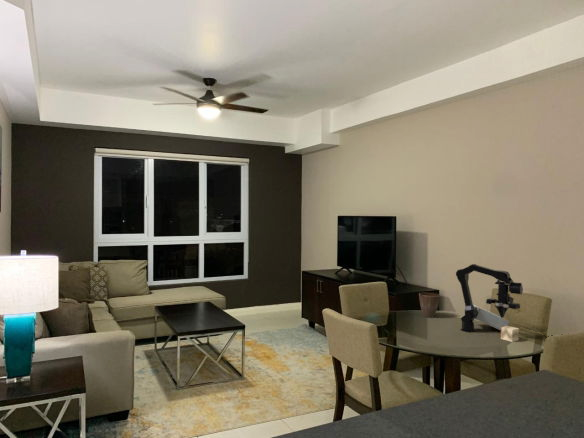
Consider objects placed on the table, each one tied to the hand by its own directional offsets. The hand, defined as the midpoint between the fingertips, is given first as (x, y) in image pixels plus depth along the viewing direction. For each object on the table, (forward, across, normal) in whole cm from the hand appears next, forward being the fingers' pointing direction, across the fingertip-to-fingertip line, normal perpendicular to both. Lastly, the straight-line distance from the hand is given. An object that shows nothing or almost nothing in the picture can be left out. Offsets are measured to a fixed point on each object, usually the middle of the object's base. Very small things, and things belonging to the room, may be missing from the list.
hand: (502, 317), depth 273 cm
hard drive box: (+9, +10, -19) cm, 23 cm away
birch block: (+9, -2, 0) cm, 9 cm away
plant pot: (+12, +58, -5) cm, 59 cm away
